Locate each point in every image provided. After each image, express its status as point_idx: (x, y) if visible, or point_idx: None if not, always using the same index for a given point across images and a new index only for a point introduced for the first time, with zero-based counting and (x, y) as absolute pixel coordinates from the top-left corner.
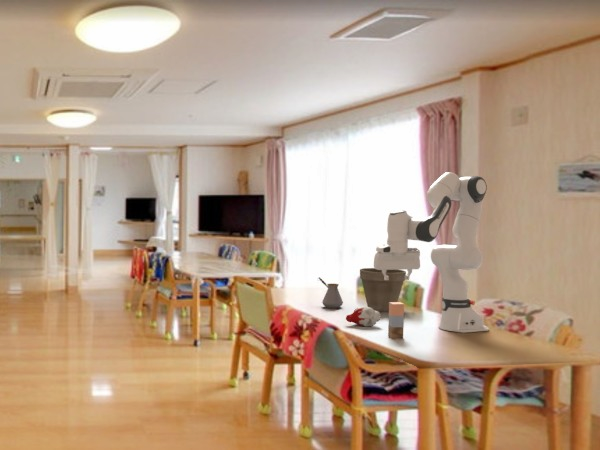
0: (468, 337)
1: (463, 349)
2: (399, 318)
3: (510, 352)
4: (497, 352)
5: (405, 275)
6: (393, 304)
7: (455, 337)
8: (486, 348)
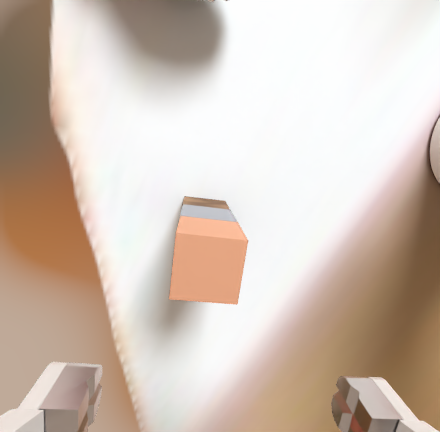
0: (423, 271)
1: (310, 386)
2: None
3: None
4: None
5: (377, 423)
6: (172, 298)
7: (387, 262)
8: None
